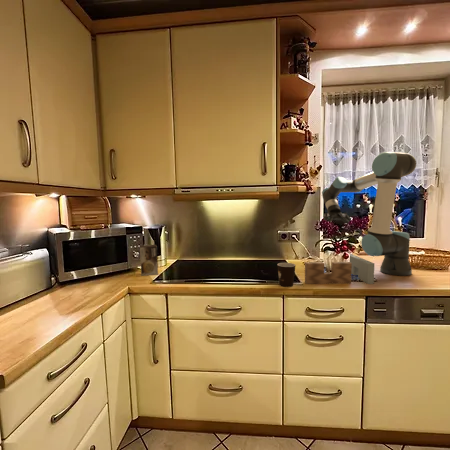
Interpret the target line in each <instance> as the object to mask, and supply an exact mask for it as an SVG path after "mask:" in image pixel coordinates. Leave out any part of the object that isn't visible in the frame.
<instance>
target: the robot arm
mask: <svg viewBox="0 0 450 450" xmlns="http://www.w3.org/2000/svg"><path fill="white" fill-rule="evenodd" d="M416 167H417V160H416V158H415V157H414V156H413V155H412V154H410V153H407V152H396V151H395V152H394V151H386V152H385V151H383V152H381V153H379V154H378V155H377V156H375V158H374V159H373V161H372V164H371V170H372V171H371V172H370V173H367V174H365V175H363V176H360V177H357V178H356V179H353V180H352V179H351V180H348V179H346V178H345V177H343V176H337V177H336V178H335V179H334V180H333V181H332V183H331V184H330V186H329V187H326V188H324V189H322V191H321V196H322V199H323V202H324V204H325V205H324V206H325V207H326V210H327V212H325V213H324V215H323V217H324V218H323V220H326V221H327V218H328V217H329V219H328V221H330V223H331V222H332V221H340V222H343V223H344V224H345V223H348V222H349V221H350V220H351V219H352V218H351V216H349V215H348V213H347V212H344V213H342V211H341V207H340V205H339V202H338V199H337V197H338V196H339V195H340V194H341V193H360V192H362V191H363V190H364V189H367V188H370V187H373V186H375V185H376V187H377V189H376V194H375V195H376V196H375V201H374V206H373V216H372V220H371V221H372V222H371V227H369V228H368V229H367V234H365V235H364V236H363V237H362V239H361V248H362V250H363V251H364V252H365V254H366V255H368V256H369V257H370V256H371V257H381V256H384V257H383V259H382V261H381V265H380V266H379V271H380V272H381V273H383V274H387V275H392V276H400V277H401V276H404V277H405V276H411V275H413V274H412V273H413V270H412V267H411V264H410V261H409V257H410V241H411V239H410V238H411V237H410V236H411V235H410V233H408V232H405V231H395V230H391V223H392V216H393V211H394V204H395V197H396V191H397V185H398V183H399V182H400V181H401V180H402V178H404V177H406V176H409V175H410V174H412V173H413V172H414V171H415V169H416ZM355 234H356V231H355V230H354V233H353V235H352V234H351V236H352V237H354V236H355Z"/></svg>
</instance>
